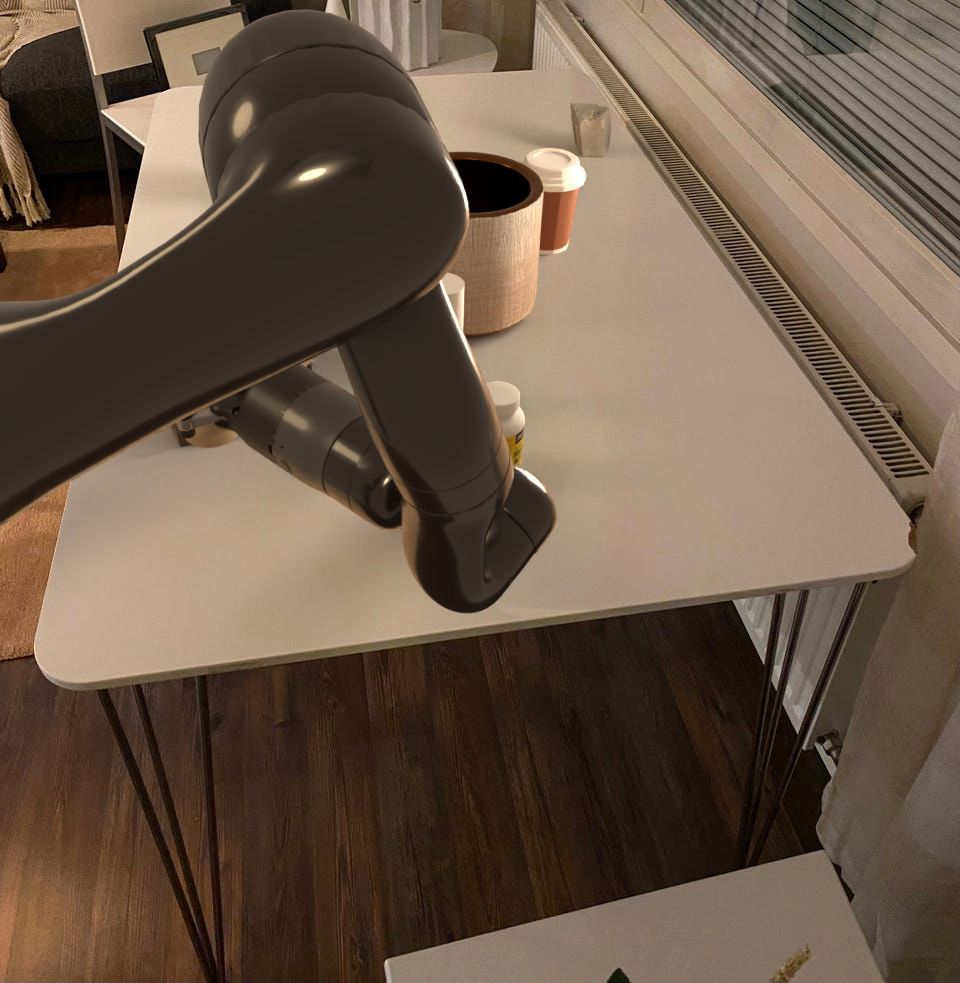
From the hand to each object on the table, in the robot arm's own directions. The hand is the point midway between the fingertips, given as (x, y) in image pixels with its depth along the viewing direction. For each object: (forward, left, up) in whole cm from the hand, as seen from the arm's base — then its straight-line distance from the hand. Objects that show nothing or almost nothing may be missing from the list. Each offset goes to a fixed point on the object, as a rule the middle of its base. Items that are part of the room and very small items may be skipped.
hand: (175, 342), depth 80 cm
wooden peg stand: (+1, -3, -8) cm, 8 cm away
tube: (+27, +4, -18) cm, 32 cm away
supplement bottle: (+27, -8, -18) cm, 33 cm away
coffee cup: (+56, +31, -18) cm, 66 cm away
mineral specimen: (+78, +54, -18) cm, 96 cm away
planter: (+39, +22, -18) cm, 48 cm away
